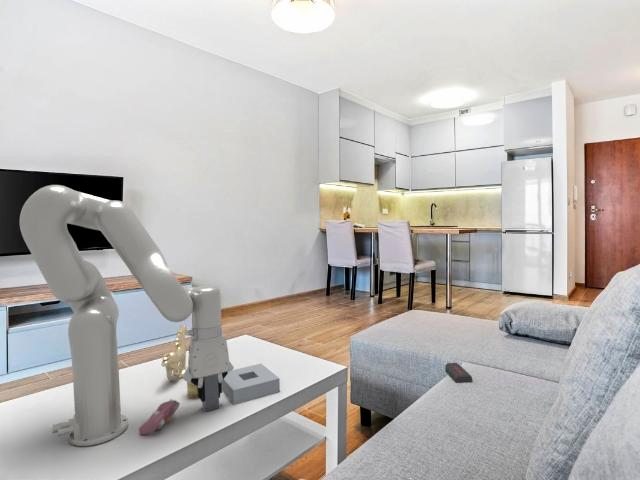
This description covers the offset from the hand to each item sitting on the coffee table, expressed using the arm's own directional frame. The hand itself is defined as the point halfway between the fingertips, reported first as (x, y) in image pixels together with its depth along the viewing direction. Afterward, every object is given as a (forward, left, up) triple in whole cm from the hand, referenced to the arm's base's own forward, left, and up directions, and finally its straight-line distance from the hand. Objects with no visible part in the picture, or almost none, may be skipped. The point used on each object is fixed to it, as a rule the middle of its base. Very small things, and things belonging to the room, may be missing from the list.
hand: (209, 397), depth 102 cm
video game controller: (-13, -2, -3) cm, 13 cm away
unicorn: (-4, +25, -3) cm, 26 cm away
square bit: (0, 0, -3) cm, 3 cm away
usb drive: (+73, -23, -3) cm, 76 cm away
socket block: (+13, +5, -3) cm, 14 cm away
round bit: (-1, +10, -3) cm, 10 cm away
